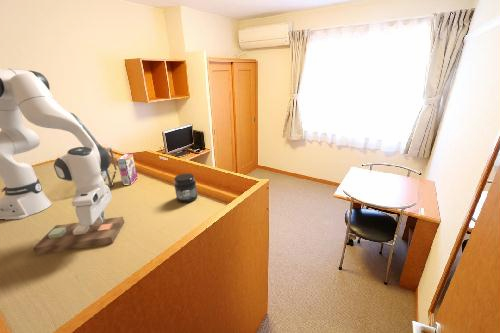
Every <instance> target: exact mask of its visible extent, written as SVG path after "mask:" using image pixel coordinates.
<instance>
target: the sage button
mask: <svg viewBox="0 0 500 333" xmlns="http://www.w3.org/2000/svg"><path fill="white" fill-rule="evenodd" d="M52 229H53V228H52ZM52 229H51V230H52ZM51 230H50V231H51ZM50 231H49V232H50ZM66 231H67V230H66V228H65V227H63V228H56V229H53V230H52V231H51V232H50V233H49V232H48V233H49V234H48V233H47V234H48V237H49V239H51V238H58V237H62V236H63V234H64V233H65V232H66Z"/></svg>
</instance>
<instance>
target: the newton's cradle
mask: <svg viewBox="0 0 500 333" xmlns="http://www.w3.org/2000/svg"><path fill="white" fill-rule="evenodd" d="M105 150H106V151H107V152H108V153H109V154H110V157H111V161H112V163H113V167H114V171H115V170H117V171H118V168H117V165H116V161H115V157H114V153H113V150H112V147H108V148H105ZM101 176H102V178H103V179H104V182H105V181H106V180H108V185H109V186H112V179H111V177H110V168H108V169H107V170H106V171H102V173H101Z"/></svg>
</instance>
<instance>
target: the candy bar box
mask: <svg viewBox="0 0 500 333" xmlns="http://www.w3.org/2000/svg"><path fill="white" fill-rule="evenodd" d="M116 162H117V166H118V169H119V174H120V179H121V182H122V185H123V184H131V183H132V182H133V181H134V179H135V178H136V177H138V172H137V168H136V163H135V159H134V154H133V153H126V154H125V153H124V154H123V155H121V156H120V157H119V158H117V159H116ZM134 182H135V181H134ZM134 182H133V183H134ZM133 183H132V184H133ZM132 184H131V185H132Z"/></svg>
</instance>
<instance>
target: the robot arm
mask: <svg viewBox="0 0 500 333" xmlns="http://www.w3.org/2000/svg"><path fill="white" fill-rule="evenodd" d="M50 88H51V87H50V83H49V81H48V79H47V77H46V76H45V75H43V73H41V72H38V71H35V70H23V69H16V68H0V177H1V179H2V181H3V182H4V184H5V187H3V188H2V189H1V190H0V191H1V193H3V192H4V195H3V196H2V197H1V198H0V219H5V220H20V219H24V218H27V217H29V216H31V215H34V214H37V213H39V212H42V211H44V210H47V209H48V208H50V207H51V205H52V201H51V200H49V198H48V197H47V196H46V194H45V192H44V190H43V188H42V184H41V182H40V180H39V178H38V177H37V175H36V173H35V170H34V168H33V166H32V165H31V164H29V163H27V162H25V161H24V162H23V161H18V160H17V161H16V160H15V159H14V157H13V156H15V155H19V154H23V153H27V152H30V151H32V150H34V149H36V148H38V147H39V146H40V144H41V138H40V136H39V134H38V133H37V132H35V131H34V130H33V129H31V128H28V127H27V126H26V125H25V123H24V121H23V117H24V119H26V120H27V122H29V123H30V124H32V125H35V126H37V127H41V128H45V129H52V130H54V129H55V130H61V131H65V132H69V133H71V134H72V135H73V136H74V137H75V138H77V141H79V143H81V145H82V146H77V147H73V148H70V149H69V150H67V151H66V154H64V155H62V156H59V157H57V158H56V160H55V161H54V163H53V168H54V171H55V173H56V176H57V177H58V178H59V179H61V180H64V181H67V182H72V181H73V182H74V183H75V189H76V191H75V193H74V196H73V198H72V200H71V205H72V207H75V215H76V217H77V220H78V222H80V224H81V225H82V226H88V225H93V224H94V222H95V221H96V220H97V223H98V224H102V223H103V221H104V220H105V219H106V216H105V215H106V207H107V206H108V205H109V204H110V203H111V201H112V200H113V195H112V193H111V190H110V187H108V186H109V185H108V184H107V183H106V182H105V181H104V179H103V178H102V176H101V172H102V171H106V170H107V169H110V166H111V163H112V156H111V154H110V152H109V153H108V152H107V151H108V150H106V148H105V147H103V146H102V145H100V143H99V142H98V141H97V139H96V138H95V137H94V135H92V133H91V132H90V131H89V129H88V128H87V127H86V126H85V124H84V123H83V121H81V120H80V119H79V117H78V116H76V114H75V113H72V112H70V111H68V110H66V109H65V108H64V107H62V106H61V105H60V104H59V103H58V102H57V100H56V99H55V97H54V95H53V94H52V92H51V91H50ZM22 116H23V117H22Z"/></svg>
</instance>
